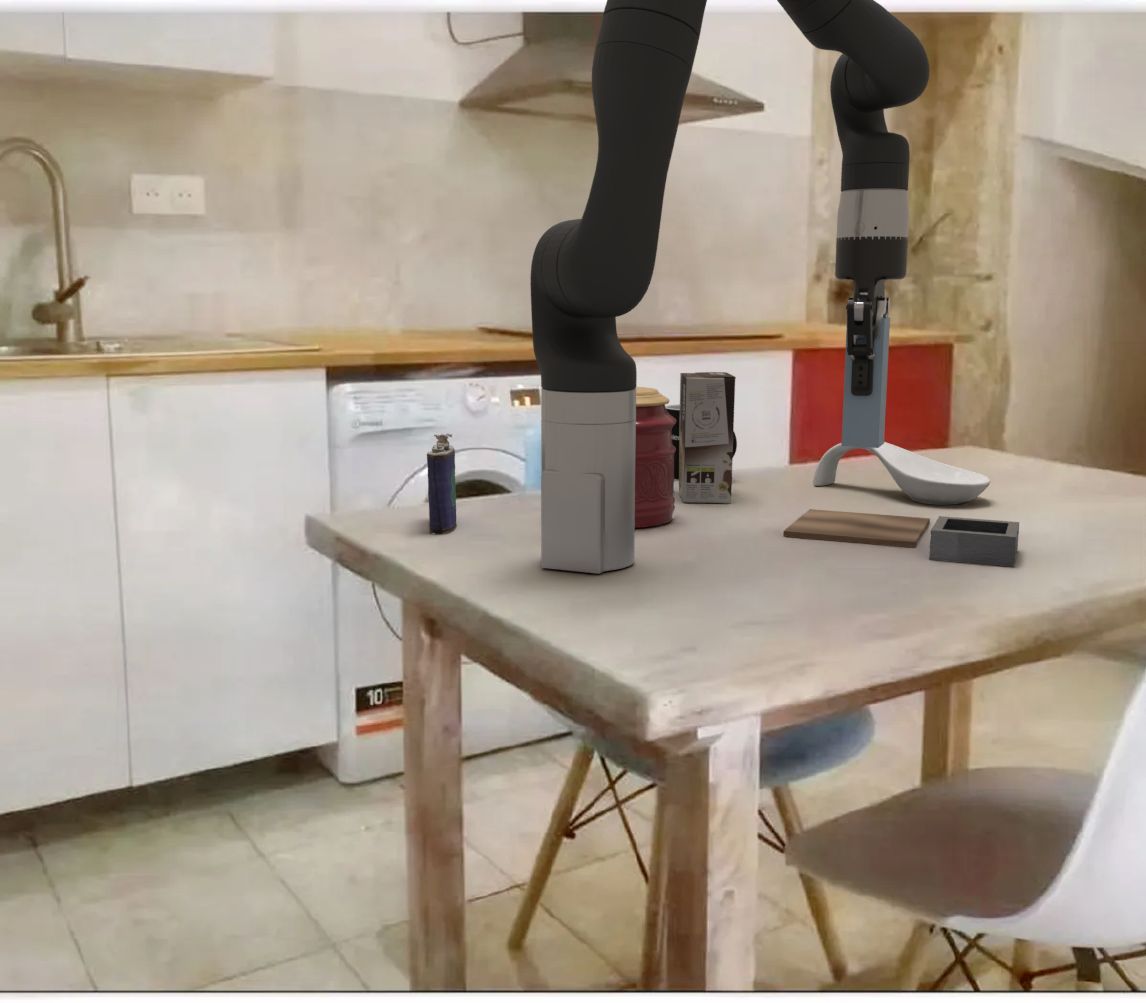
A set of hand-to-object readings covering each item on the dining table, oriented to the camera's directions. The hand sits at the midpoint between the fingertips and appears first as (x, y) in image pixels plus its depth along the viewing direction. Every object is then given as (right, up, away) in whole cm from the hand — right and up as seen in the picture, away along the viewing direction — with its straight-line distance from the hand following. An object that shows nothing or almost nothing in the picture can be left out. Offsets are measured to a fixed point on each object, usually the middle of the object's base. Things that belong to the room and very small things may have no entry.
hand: (865, 392), depth 128 cm
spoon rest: (+11, -12, +25) cm, 30 cm away
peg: (0, -6, +1) cm, 6 cm away
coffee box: (-15, -12, +23) cm, 30 cm away
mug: (-14, -9, +39) cm, 42 cm away
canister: (-27, -14, +9) cm, 32 cm away
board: (0, -15, +3) cm, 15 cm away
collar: (+9, -17, -9) cm, 22 cm away
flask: (-47, -15, +4) cm, 50 cm away
